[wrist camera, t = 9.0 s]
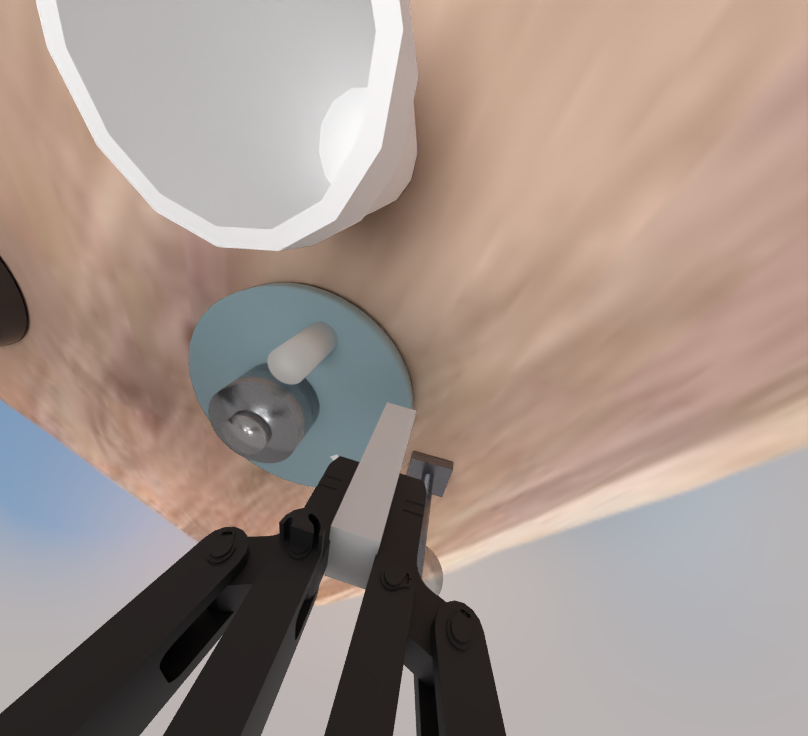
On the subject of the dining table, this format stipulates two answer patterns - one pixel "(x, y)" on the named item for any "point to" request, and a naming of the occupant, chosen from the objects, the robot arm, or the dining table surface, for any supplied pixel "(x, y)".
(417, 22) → the dining table surface
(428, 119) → the dining table surface
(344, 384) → the turntable
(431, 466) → the dial stand
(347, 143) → the foam cup
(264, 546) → the robot arm
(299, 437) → the cover
